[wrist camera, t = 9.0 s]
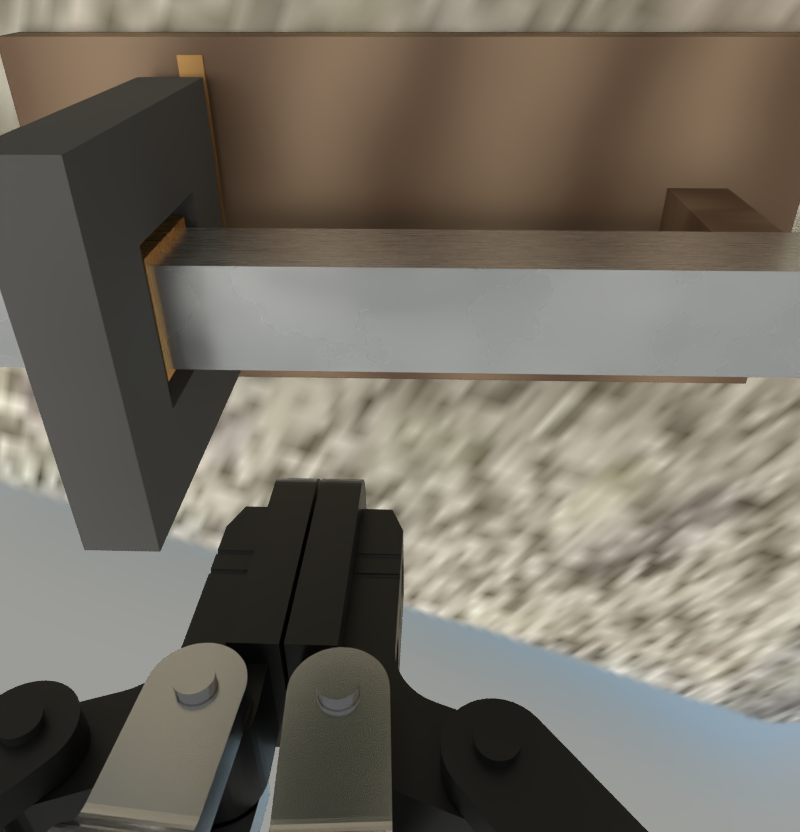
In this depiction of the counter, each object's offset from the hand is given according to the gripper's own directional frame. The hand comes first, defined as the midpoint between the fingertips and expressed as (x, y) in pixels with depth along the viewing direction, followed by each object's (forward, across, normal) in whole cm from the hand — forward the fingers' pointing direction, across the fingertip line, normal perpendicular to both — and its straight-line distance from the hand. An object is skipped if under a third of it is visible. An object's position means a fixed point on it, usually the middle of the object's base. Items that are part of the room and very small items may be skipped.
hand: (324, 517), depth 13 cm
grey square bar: (+11, 0, 0) cm, 11 cm away
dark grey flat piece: (+14, +6, 0) cm, 15 cm away
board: (+16, -1, 0) cm, 17 cm away
